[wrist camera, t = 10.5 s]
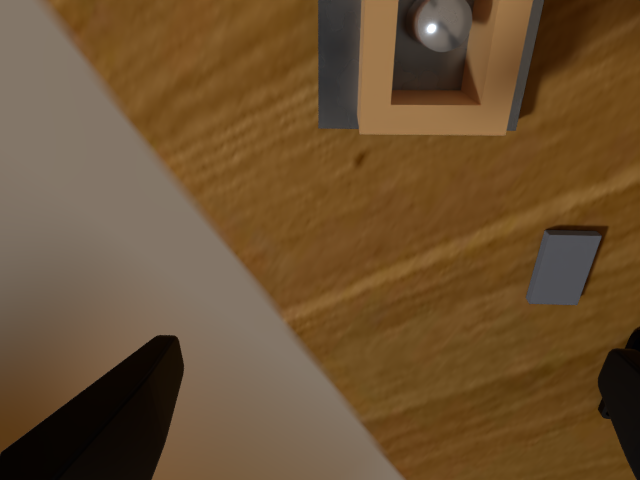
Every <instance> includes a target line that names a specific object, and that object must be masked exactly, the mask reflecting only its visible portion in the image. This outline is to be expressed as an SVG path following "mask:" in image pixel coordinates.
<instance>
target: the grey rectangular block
mask: <svg viewBox="0 0 640 480" xmlns="http://www.w3.org/2000/svg"><path fill="white" fill-rule="evenodd" d="M601 237H602V236H601V235H600V234H599V233H598V232H597V231H569V230H545V232H544V235H543V239H542V242H541V246H540V250H539V253H538V257H537V260H536V264H535V267H534V271H533V274H532V278H531V281H530V285H529V288H528V292H527V296H526V299H527V300H528V302H529V304H561V305H577V304H578V301H579V299H580V296H581V293H582V290H583V287H584V285H585V282H586V279H587V276H588V273H589V271H590V268H591V265H592V262H593V259H594V257H595V254H596V251H597V248H598V245H599V243H600V240H601Z"/></svg>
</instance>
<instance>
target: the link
mask: <svg viewBox="0 0 640 480" xmlns="http://www.w3.org/2000/svg"><path fill="white" fill-rule="evenodd" d="M532 3H533V0H474V5H473V12H472V25H471V29H470V32H469V39H468V45H467V52H466V59H465V66H464V73H463V79H462V86H461V90H392V81H393V67H394V53H395V40H396V26H397V13H398V0H362V2H361V29H360V55H359V82H358V108H357V118H358V125H359V133H360V134H401V135H506V130H507V125H508V120H509V115H510V110H511V106H512V101H513V96H514V91H515V86H516V81H517V76H518V71H519V66H520V62H521V57H522V52H523V47H524V42H525V37H526V32H527V27H528V22H529V18H530V13H531V8H532Z"/></svg>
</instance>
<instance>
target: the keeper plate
mask: <svg viewBox="0 0 640 480" xmlns="http://www.w3.org/2000/svg"><path fill="white" fill-rule="evenodd" d="M361 2H362V0H318V51H319V128H337V129H359V125H358V118H357V108H358V82H359V55H360V29H361ZM543 3H544V0H533V3H532V8H531V13H530V18H529V22H528V27H527V32H526V37H525V42H524V47H523V52H522V57H521V62H520V66H519V71H518V76H517V81H516V86H515V91H514V96H513V101H512V106H511V110H510V115H509V120H508V125H507V130H509V131H516V127H517V122H518V118H519V113H520V108H521V104H522V99H523V95H524V90H525V86H526V81H527V76H528V72H529V67H530V63H531V58H532V54H533V49H534V44H535V40H536V35H537V31H538V26H539V21H540V17H541V12H542V8H543ZM473 5H474V0H398V13H397V26H396V40H395V53H394V67H393V81H392V90H461V86H462V79H463V73H464V66H465V59H466V52H467V45H468V39H469V32H470V29H471V25H472V12H473Z"/></svg>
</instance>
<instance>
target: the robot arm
mask: <svg viewBox="0 0 640 480" xmlns="http://www.w3.org/2000/svg"><path fill="white" fill-rule="evenodd" d="M183 371H184V363H183V358H182V353H181V348H180V344H179V340H178V338H177V337H176V336H173V335H159V336H156V337H154V338H153V339H151V340H150V341H149V342H148V343H146V344H145V345H143V346H142V347H141V348H139V349H138V350H137V351H136V352H134V353H133V354H131V355H130V356H129V357H127V358H126V359H125V360H123V361H122V362H121V363H119V364H118V365H117V366H115V367H114V368H113V369H111V370H110V371H109V372H107V373H106V374H105V375H103V376H102V377H101V378H99V379H98V380H97V381H95V382H94V383H93V384H91V385H90V386H89V387H87V388H86V389H85V390H83V391H82V392H81V393H79V394H78V395H77V396H75V397H74V398H73V399H71V400H70V401H69V402H68V403H66V404H65V405H64V406H62V407H61V408H59V409H58V410H57V411H55V412H54V413H53V414H51V415H50V416H49V417H48V418H46V419H45V420H44V421H42V422H41V423H39V424H38V425H37V426H36V427H34V428H33V429H31V430H30V431H29V432H28V433H26V434H25V435H24V436H22V437H21V438H20V439H18V440H17V441H16V442H14V443H13V444H11V445H10V446H9V447H8V448H6V449H5V450H3V451H2V452H1V454H0V480H151V479H152V477H153V474H154V472H155V469H156V466H157V464H158V461H159V458H160V456H161V453H162V450H163V448H164V445H165V442H166V438H167V435H168V431H169V427H170V423H171V420H172V416H173V412H174V408H175V404H176V400H177V396H178V392H179V389H180V385H181V381H182V377H183ZM598 387H599V390H600V393H601V396H602V400H601V402H600V405H599V407H598V410H599V412H600V414H601V415H602V417H603V418H606V419H611V421H612V424H613V426H614V429H615V431H616V434H617V436H618V439H619V442H620V444H621V447H622V449H623V451H624V454H625V456H626V458H627V461H628V463H629V465H630V467H631V469H632V471H633V473H634V475H635V477H636V479H637V480H640V330H639V331H636V332H634V333H633V334H632V335H631V336H630V338H629V340H628V342H627V345H626V347H625V349H618V348H616V349H612V350H611V351H610V352H609V353H608V355H607V358H606V360H605V362H604V365H603V367H602V369H601V372H600V374H599V377H598Z"/></svg>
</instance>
